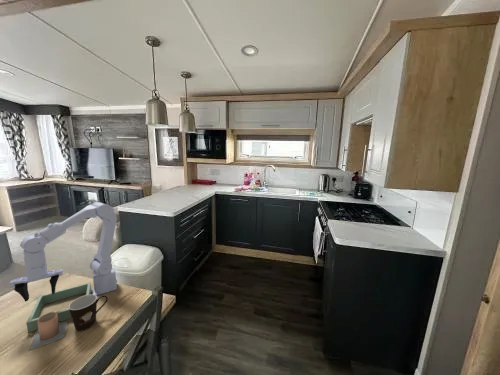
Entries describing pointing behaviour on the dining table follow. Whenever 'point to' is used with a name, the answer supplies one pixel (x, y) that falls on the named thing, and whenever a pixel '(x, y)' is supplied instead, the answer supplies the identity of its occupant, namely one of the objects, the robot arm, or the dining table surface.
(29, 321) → the green square frame
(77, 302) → the coffee mug
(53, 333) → the pink plant pot
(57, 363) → the dining table surface
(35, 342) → the slate mat
